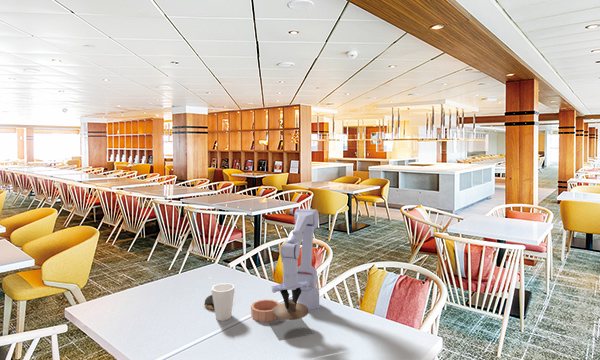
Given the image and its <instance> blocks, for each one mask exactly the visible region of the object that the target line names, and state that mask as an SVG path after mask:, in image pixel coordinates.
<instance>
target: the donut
mask: <svg viewBox="0 0 600 360" xmlns="http://www.w3.org/2000/svg"><path fill="white" fill-rule="evenodd" d="M203 304H204V306H205V308H206V309H208V310H212V311H215V309H214V302H213V296H212V294H211V295H208V296H207V297H206V298H205V300H204V303H203Z"/></svg>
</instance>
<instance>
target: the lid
mask: <svg viewBox="0 0 600 360" xmlns="http://www.w3.org/2000/svg"><path fill="white" fill-rule="evenodd" d="M308 314H309V310H308V307H307V306H305V305H303V304H300V303H297V304H295V303H294V301H293V300H292V298H289V308H288V309H286V307H285V303H284V302H283V303H279V305H277V306H275V307H274V308H273V315H274V316H276V317H277V319H281V320H284V321H286V320H295V319H300V318H301V319H302V318H304V317H307V316H308Z"/></svg>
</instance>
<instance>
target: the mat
mask: <svg viewBox="0 0 600 360" xmlns="http://www.w3.org/2000/svg"><path fill="white" fill-rule="evenodd" d="M268 325H269V327H270V329H271V330H272V332H273V334H274V335H275V337H276V338H277V340H278V341H282V340H290V339H293V338H298V337H305V336H309V335H314V334H315V333H314V331H312V330H311V328H310V326H308V324H307V323H306V322H305V321H304V320H303V319H302V318H300V319H295V320H281V321H276V322H269V323H268Z"/></svg>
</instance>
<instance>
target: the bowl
mask: <svg viewBox="0 0 600 360" xmlns="http://www.w3.org/2000/svg"><path fill="white" fill-rule="evenodd" d="M279 304H280V302H279V301H277V300H274V299H259V300H256V301H254V302H253V303H252V304H251V305H250V316H251V318H252V320H254V321H257V322H263V323H264V322H265V323H268V322H274V321H275V320H277V319H278V318H277V317H276V316H274V315H273V308H274V307H275V306H277V305H279Z"/></svg>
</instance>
